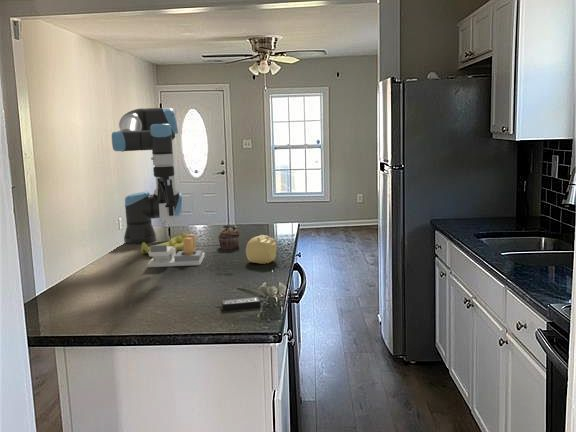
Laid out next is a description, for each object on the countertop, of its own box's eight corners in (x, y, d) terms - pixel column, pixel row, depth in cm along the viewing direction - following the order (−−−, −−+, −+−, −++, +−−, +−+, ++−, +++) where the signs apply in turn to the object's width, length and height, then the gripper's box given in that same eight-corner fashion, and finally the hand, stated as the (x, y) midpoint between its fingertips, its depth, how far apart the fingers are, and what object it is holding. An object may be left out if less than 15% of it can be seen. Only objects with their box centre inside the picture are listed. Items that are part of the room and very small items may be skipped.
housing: (156, 258, 230) (154, 235, 229) (204, 255, 231) (203, 233, 229) (147, 267, 215) (145, 242, 213) (199, 264, 215) (198, 240, 214)
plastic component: (152, 253, 230) (141, 240, 236) (151, 267, 234) (140, 254, 240) (193, 242, 242) (182, 230, 248) (192, 255, 246) (180, 243, 252)
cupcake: (242, 245, 251) (240, 223, 250) (238, 249, 242) (236, 226, 240) (221, 245, 252) (219, 223, 251) (216, 249, 243) (215, 227, 241)
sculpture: (273, 266, 209) (272, 237, 207) (243, 265, 211) (241, 237, 210) (280, 259, 220) (279, 232, 218) (251, 258, 222) (249, 232, 221)
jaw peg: (185, 257, 222) (183, 237, 221) (194, 257, 222) (192, 237, 221) (183, 259, 219) (182, 239, 217) (193, 259, 219) (191, 239, 218)
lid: (154, 251, 222) (153, 241, 221) (173, 250, 222) (172, 240, 221) (149, 256, 212) (148, 246, 211) (168, 255, 212) (167, 245, 212)
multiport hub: (221, 307, 162) (221, 300, 161) (258, 304, 164) (258, 296, 163) (222, 312, 157) (222, 304, 157) (261, 308, 159) (260, 301, 159)
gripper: (147, 165, 217) (151, 219, 220) (160, 167, 195) (164, 227, 197) (166, 164, 220) (170, 217, 223) (181, 166, 198) (185, 225, 200)
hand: (167, 222), depth 210 cm, fingers open, 13 cm apart
